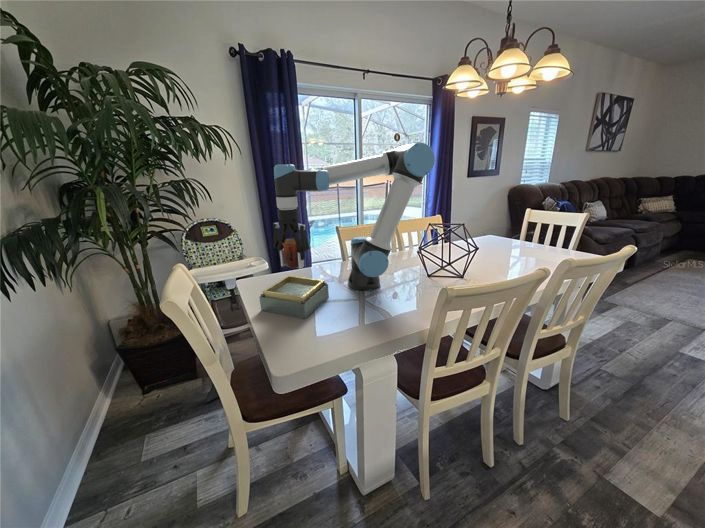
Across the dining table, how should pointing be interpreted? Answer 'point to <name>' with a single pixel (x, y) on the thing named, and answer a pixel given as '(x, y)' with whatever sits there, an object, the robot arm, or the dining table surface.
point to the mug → (291, 253)
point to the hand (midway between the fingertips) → (292, 266)
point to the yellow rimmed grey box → (294, 296)
